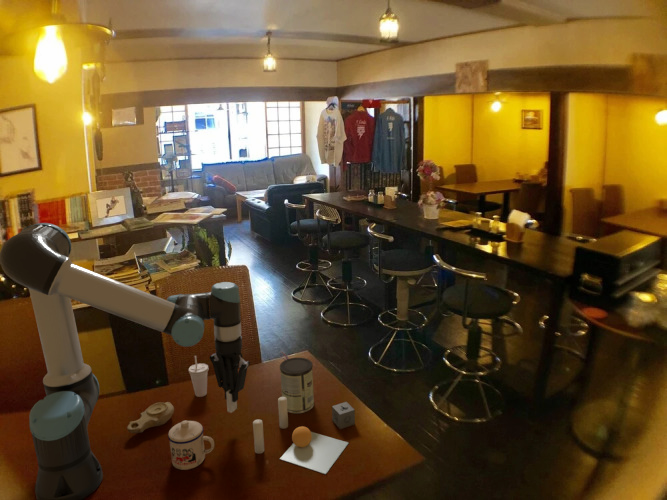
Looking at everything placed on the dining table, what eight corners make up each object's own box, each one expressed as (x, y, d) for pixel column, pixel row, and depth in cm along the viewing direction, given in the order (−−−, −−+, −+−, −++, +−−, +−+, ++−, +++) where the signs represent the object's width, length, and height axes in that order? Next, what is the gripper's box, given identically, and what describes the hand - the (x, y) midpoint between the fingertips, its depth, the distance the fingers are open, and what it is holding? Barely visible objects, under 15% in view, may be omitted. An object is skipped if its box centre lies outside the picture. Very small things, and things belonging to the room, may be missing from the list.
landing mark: (279, 459, 135) (279, 458, 135) (305, 430, 147) (305, 430, 147) (325, 474, 129) (325, 473, 129) (348, 443, 141) (348, 442, 141)
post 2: (277, 427, 149) (276, 400, 147) (282, 422, 151) (281, 396, 149) (285, 429, 148) (283, 402, 146) (289, 424, 150) (288, 398, 148)
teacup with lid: (165, 470, 132) (160, 431, 129) (179, 448, 141) (174, 411, 138) (210, 472, 131) (206, 433, 128) (220, 449, 140) (217, 413, 137)
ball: (301, 432, 136) (309, 450, 137) (310, 421, 141) (317, 438, 141) (285, 435, 139) (293, 452, 139) (294, 424, 144) (302, 441, 144)
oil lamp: (126, 440, 145) (123, 425, 144) (146, 412, 159) (144, 398, 157) (162, 441, 144) (160, 425, 143) (179, 412, 158) (177, 398, 157)
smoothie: (190, 390, 170) (186, 353, 167) (210, 387, 172) (206, 350, 168) (191, 400, 164) (187, 361, 161) (211, 397, 166) (207, 358, 163)
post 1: (253, 452, 138) (250, 423, 136) (258, 446, 141) (256, 418, 138) (260, 454, 137) (258, 426, 135) (266, 449, 139) (264, 420, 137)
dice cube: (340, 429, 148) (339, 414, 146) (332, 420, 152) (331, 406, 151) (354, 424, 150) (354, 409, 149) (346, 416, 154) (346, 401, 153)
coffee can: (285, 395, 166) (283, 356, 163) (316, 396, 165) (314, 357, 161) (278, 413, 156) (276, 372, 153) (311, 414, 155) (310, 373, 152)
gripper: (254, 335, 143) (257, 409, 149) (218, 327, 148) (222, 398, 154) (238, 346, 136) (242, 422, 142) (201, 336, 142) (206, 410, 148)
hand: (232, 409), depth 148 cm, fingers closed
